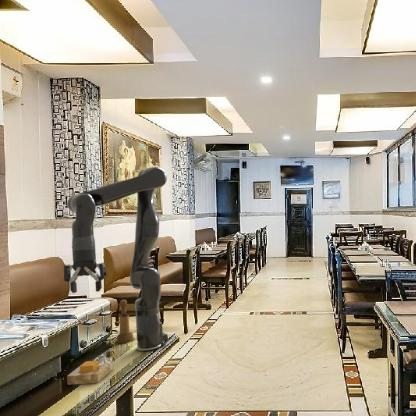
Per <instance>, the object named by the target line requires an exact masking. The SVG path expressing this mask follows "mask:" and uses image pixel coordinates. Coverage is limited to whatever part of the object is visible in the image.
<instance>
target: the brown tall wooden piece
mask: <svg viewBox="0 0 416 416" xmlns="http://www.w3.org/2000/svg"><path fill="white" fill-rule="evenodd" d="M127 305H128V301H127V300H126V299H121V300H120V301H119V306H120V307H121V310H120V313H121V314H120V315H119V316H118V320H119V334H118V335H117V336H116V342H117V344H126V343H130V342H132V341H133V340H134V334H133V333H132V332H130V315H129V314H128V313H127V309H126V307H127Z"/></svg>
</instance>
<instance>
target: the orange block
mask: <svg viewBox="0 0 416 416" xmlns="http://www.w3.org/2000/svg"><path fill="white" fill-rule="evenodd" d="M99 363H100V361H99V360H87V361H86V360H85V361H84V362H83V363H82V364H80V365H81V366H80V365H79V366H80V373H83V372H94V371H95V370H96V369H98V368H99Z"/></svg>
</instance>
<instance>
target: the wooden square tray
mask: <svg viewBox="0 0 416 416" xmlns="http://www.w3.org/2000/svg"><path fill="white" fill-rule="evenodd" d="M81 365H82V364H80V365H79V366H78V367H77V368H76V369H74V370H73V371H71V372H70V373H69V374H67V376H66V378H67V379H66V380H67V381H66V382H67V385H68V386H69V385H87V384H99V383H100V382H101V381H102V380H103V379H104V378H105V377H106V376H107V375H108V374H110V372H111V362H102V363H101V362H99V368H98V369H96V370H95V371H94V372H83V373H80V366H81Z"/></svg>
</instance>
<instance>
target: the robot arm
mask: <svg viewBox="0 0 416 416" xmlns="http://www.w3.org/2000/svg"><path fill="white" fill-rule="evenodd" d="M167 180H168V175H167V172H166V171H165V170H164V169H162V168H161V167H158V166H151V167H145V168H142V169H140V171H139V172H138V174H137V176H134V177H131V178H127V179H122V180H119V181H115V182H111V183H107V184H105V185H102V186H99V187H97V188H94V189H90V190H86V191H83V192H79V193H78V192H77V193H76V194H72V195H71V196H70V197H69V198H68V199H67V201H66V207H67V209H68V210H69V211H70V212H72V213H75V219H74V220H73V221H72V223H71V253H72V255H71V256H72V262H73V263H72V264H70V263H69V264H65V265H64V266H63V281H64V282H67V283H69V286H70V287H69V288H70V292H71V293H72V294H76V293H77V292H78V286H77V280H78V278H79V277H83V276H86V277H88V276H90V277H91V278H92V279H93V280H94V281H95V282H94V283H95V292H96V293H99V292H100V291H101V290H102V288H103V287H102V286H103V285H102V281H103V280H105V279H107V277H108V275H107V269H106V267H107V266H106V263H105V262H100V263H97V254H96V253H97V252H96V239H95V235H94V234H95V233H94V232H95V231H94V230H95V229H94V221H95V217H96V211H97V210H96V209H97V207H100V206H106V205H108V204H112V203H114V202H117V201H119V200H122V199H124V198H127V197H130V196H132V195H135V194H137V203H136V217H135V218H136V219H135V228H134V229H135V230H134V231H135V232H134V233H135V234H134V244H133V245H134V246H133V256H132V262H131V267H130V268H131V269H130V273H129V282H130V285H131V287H132V288H133V289H134V290H138V291H141V294H140V297H139V298H137V299H136V300H135V302H134V306H135V326H136V328H135V329H136V341H137V342H136V346H137V348H136V350H138V351H139V352H149V351H154V350H157V349H159V348H161V347H163V346H164V344H166V343H167V342H168V340H169V337H168V336H169V335H168V333H164V332H163V323H162V322H161V313H160V300H161V295H162V292H161V291H162V289H161V288H162V286H161V285H162V284H161V283H162V281H161V280H162V279H161V275H160V272H159V271H158V269H156V268H153V267H149V261H150V255H151V254H152V253H151V252H152V250H153V248H154V246H155V245H156V243H157V242H158V238H159V234H160V217H159V213H158V211H157V209H156V205H155V190H157V189H160V188H163V186H165V185H166V183H167ZM96 269H98V270H99V272H98V271H97V270H96ZM72 270H73V271H74V272H73V273H72Z"/></svg>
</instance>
